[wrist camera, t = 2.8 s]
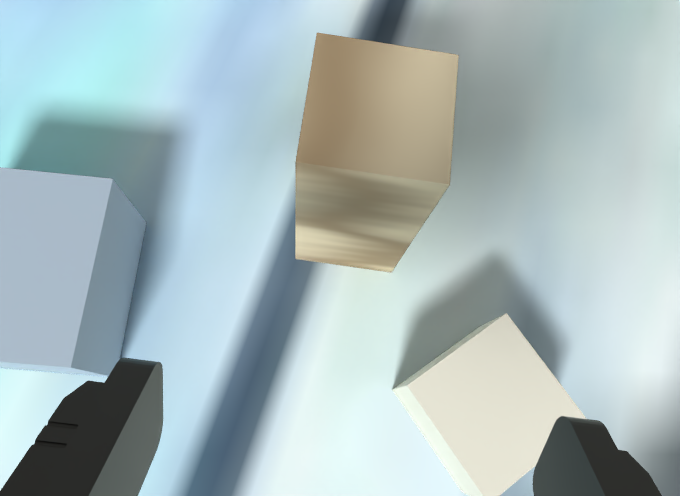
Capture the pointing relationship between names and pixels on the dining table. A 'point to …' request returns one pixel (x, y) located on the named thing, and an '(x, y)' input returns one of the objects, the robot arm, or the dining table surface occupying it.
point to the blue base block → (65, 271)
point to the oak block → (372, 150)
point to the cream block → (487, 407)
